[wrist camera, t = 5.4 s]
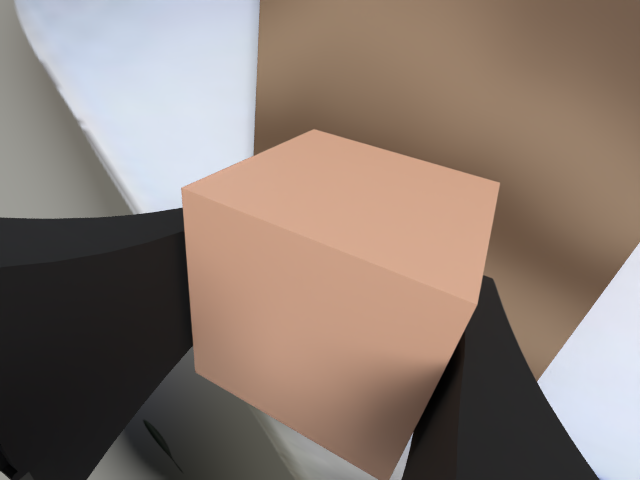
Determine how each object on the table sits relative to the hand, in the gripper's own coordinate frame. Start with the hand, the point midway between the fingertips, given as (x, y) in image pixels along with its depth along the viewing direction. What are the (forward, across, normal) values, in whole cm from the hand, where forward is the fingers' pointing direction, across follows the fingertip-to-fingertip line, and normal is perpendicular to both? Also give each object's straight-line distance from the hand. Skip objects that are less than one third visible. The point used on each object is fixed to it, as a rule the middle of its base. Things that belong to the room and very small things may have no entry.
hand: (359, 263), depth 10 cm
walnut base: (+7, 0, 0) cm, 7 cm away
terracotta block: (+2, 0, 0) cm, 2 cm away
